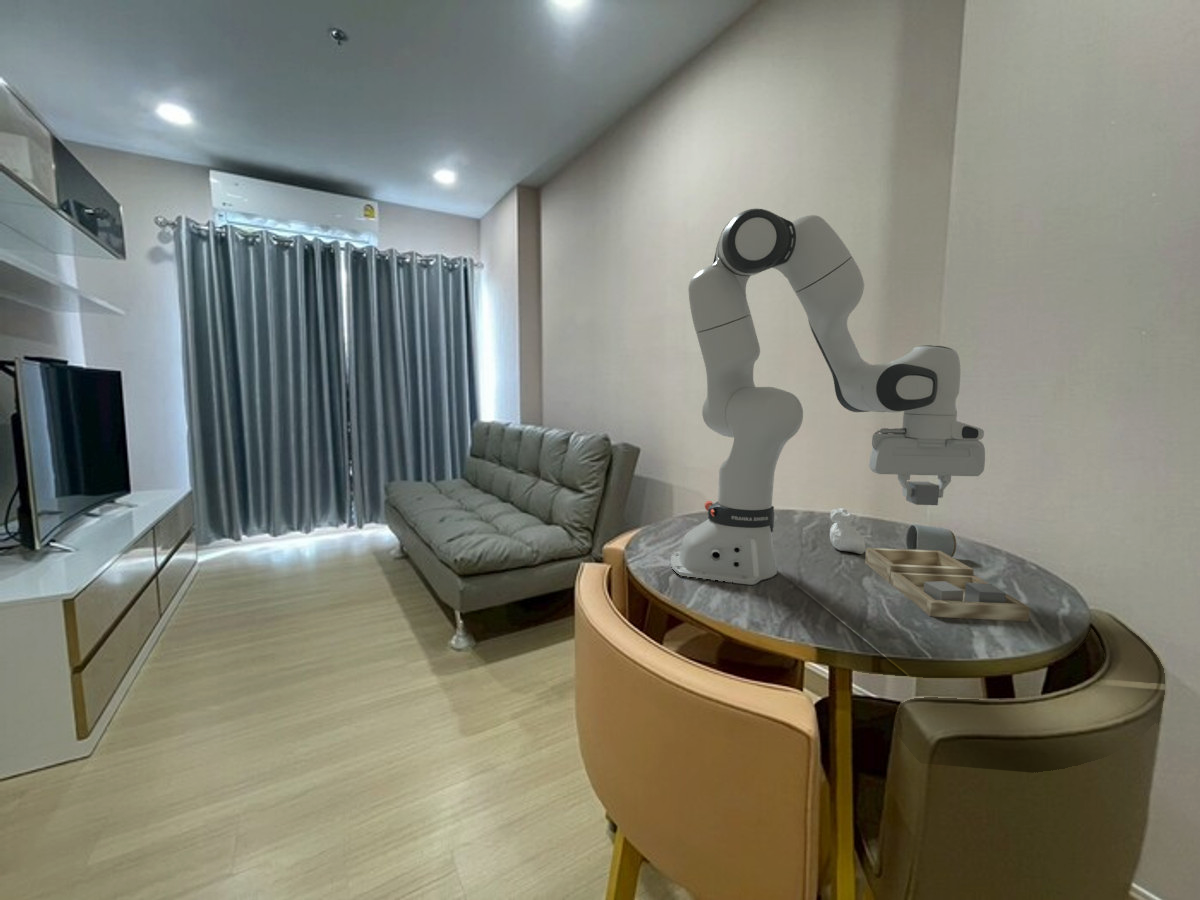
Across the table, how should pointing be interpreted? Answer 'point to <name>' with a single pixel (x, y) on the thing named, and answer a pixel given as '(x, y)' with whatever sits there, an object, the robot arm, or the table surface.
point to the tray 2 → (914, 591)
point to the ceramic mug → (930, 539)
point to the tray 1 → (913, 562)
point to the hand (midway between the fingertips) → (922, 496)
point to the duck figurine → (845, 532)
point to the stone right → (983, 593)
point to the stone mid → (924, 493)
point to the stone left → (943, 591)
